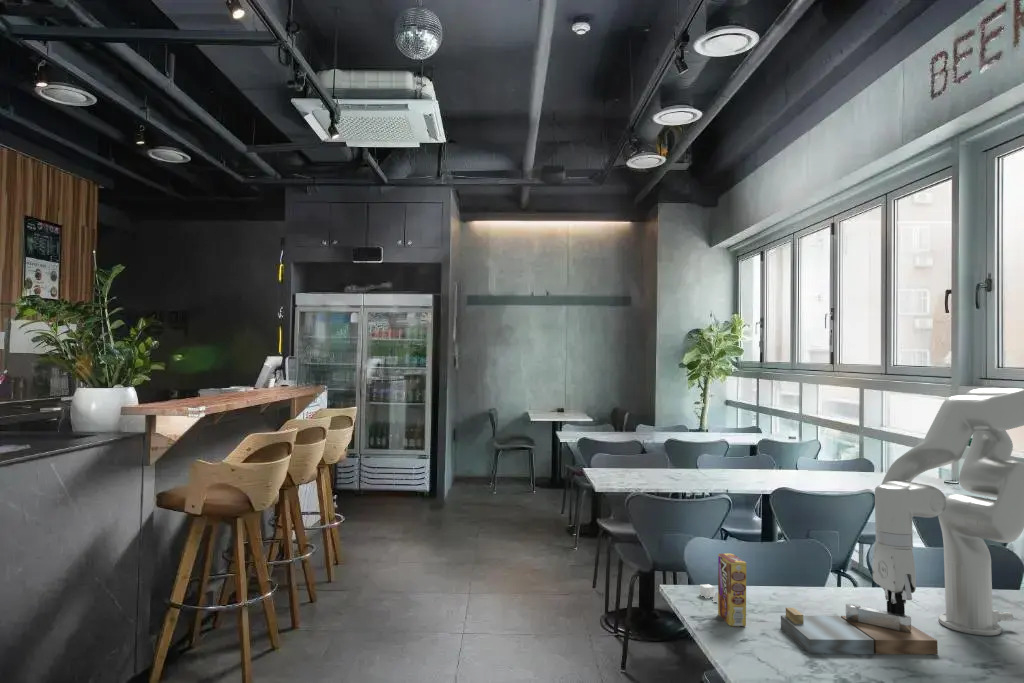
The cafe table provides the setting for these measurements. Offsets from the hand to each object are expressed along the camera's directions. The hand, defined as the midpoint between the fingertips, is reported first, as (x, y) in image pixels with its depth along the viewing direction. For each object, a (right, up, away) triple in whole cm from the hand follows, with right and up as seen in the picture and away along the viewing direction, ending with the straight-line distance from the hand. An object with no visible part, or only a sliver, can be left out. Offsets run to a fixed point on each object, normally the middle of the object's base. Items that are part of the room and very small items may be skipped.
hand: (896, 619), depth 153 cm
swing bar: (-4, -1, 0) cm, 5 cm away
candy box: (-34, -5, +10) cm, 36 cm away
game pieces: (-34, -6, +25) cm, 42 cm away
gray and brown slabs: (-10, -4, -2) cm, 11 cm away
